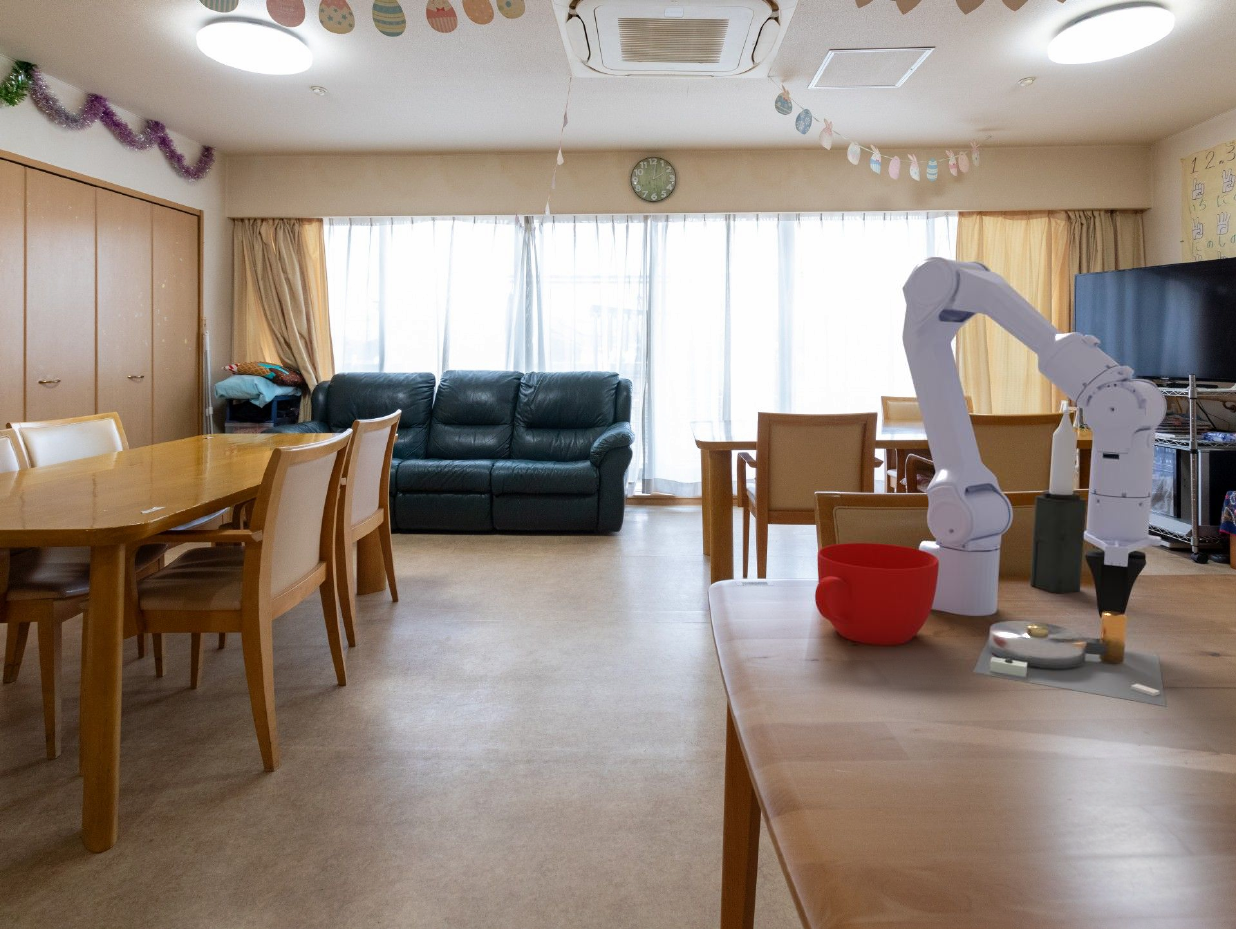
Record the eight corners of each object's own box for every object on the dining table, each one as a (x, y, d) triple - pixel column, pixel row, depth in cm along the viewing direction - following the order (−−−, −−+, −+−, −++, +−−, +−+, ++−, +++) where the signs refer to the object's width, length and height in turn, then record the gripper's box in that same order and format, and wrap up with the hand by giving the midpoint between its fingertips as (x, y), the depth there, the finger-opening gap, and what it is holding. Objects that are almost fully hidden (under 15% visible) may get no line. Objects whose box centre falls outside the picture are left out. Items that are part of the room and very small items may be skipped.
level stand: (972, 682, 83) (973, 659, 82) (990, 639, 95) (992, 619, 95) (1165, 716, 75) (1167, 691, 74) (1157, 664, 87) (1159, 642, 87)
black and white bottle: (1026, 584, 119) (1037, 408, 116) (1054, 581, 121) (1066, 408, 117) (1054, 593, 114) (1066, 410, 111) (1084, 590, 116) (1096, 410, 113)
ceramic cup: (768, 646, 93) (770, 558, 92) (857, 617, 104) (860, 538, 102) (870, 680, 83) (874, 582, 82) (957, 644, 94) (961, 556, 93)
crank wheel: (996, 663, 84) (999, 618, 84) (982, 635, 93) (985, 594, 92) (1137, 675, 81) (1141, 628, 80) (1110, 645, 89) (1113, 602, 89)
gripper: (1168, 506, 81) (1157, 642, 83) (1160, 487, 93) (1151, 606, 95) (1084, 501, 85) (1076, 631, 86) (1088, 483, 97) (1080, 597, 99)
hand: (1110, 617), depth 91 cm, fingers closed
